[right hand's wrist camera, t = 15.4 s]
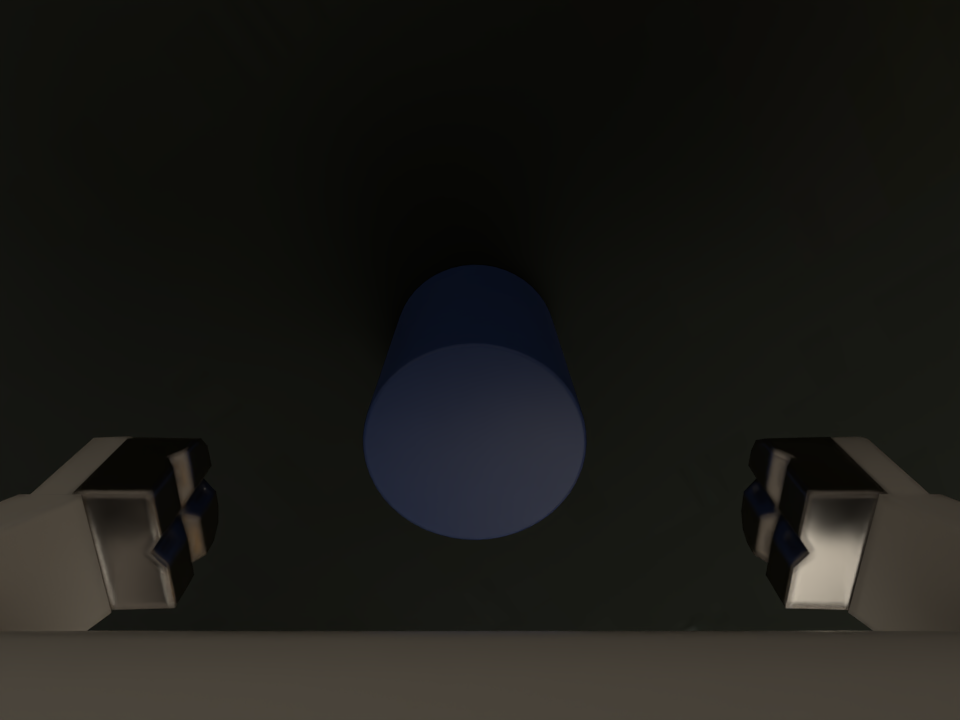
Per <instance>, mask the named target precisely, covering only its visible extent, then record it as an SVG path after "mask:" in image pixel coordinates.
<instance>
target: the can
mask: <svg viewBox="0 0 960 720" xmlns="http://www.w3.org/2000/svg"><path fill="white" fill-rule="evenodd" d="M586 444H587V442H586V428H585V423H584V418H583V415H582V411H581V408H580V405H579V402H578V399H577V396H576V393H575V390H574V386H573V383H572V380H571V377H570V374H569V371H568V368H567V365H566V361H565V358H564V355H563V352H562V349H561V346H560V343H559V340H558V336H557V333H556V330H555V327H554V324H553V321H552V318H551V315H550V312H549V310H548V308H547V306H546V304H545V302H544V301H543V299H542V298H541V297H540V295H539V294H538V293H537V292H536V291H535V290H534V288H533V287H532V286H530V285H529V284H528V283H527V282H526V281H524V280H523V279H521V278H520V277H518V276H516V275H515V274H513V273H510V272H508V271H506V270H503V269H500V268H497V267H492V266H486V265H465V266H459V267H455V268H451V269H448V270H445V271H443V272H440V273H438V274H437V275H435V276H433V277H431V278H430V279H428V280H427V281H425V282H424V283H423V284H422V285H421V286H420V287H419V288H417V289H416V290H415V292H414V293H413V294H412V295H411V297H410V298H409V299H408V301H407V303H406V304H405V306H404V308H403V310H402V313H401V315H400V318H399V321H398V324H397V327H396V330H395V332H394V335H393V338H392V341H391V344H390V347H389V350H388V353H387V356H386V359H385V362H384V365H383V368H382V371H381V374H380V377H379V380H378V383H377V386H376V389H375V392H374V395H373V398H372V401H371V403H370V406H369V409H368V413H367V416H366V420H365V424H364V432H363V451H364V456H365V462H366V465H367V468H368V471H369V474H370V476H371V478H372V480H373V482H374V484H375V486H376V488H377V489H378V491H379V492H380V494H381V495H382V496H383V498H384V499H385V500H386V501H387V502H388V503H389V505H390V506H391V507H392V508H393V509H395V510H396V511H397V512H398V513H399V514H400V515H401V516H403V517H404V518H406V519H407V520H409V521H410V522H412V523H413V524H415V525H417V526H419V527H421V528H423V529H425V530H428V531H430V532H433V533H436V534H439V535H443V536H447V537H451V538H458V539H468V540H482V539H493V538H498V537H503V536H507V535H510V534H514V533H517V532H520V531H522V530H524V529H526V528H529V527H531V526H533V525H534V524H536V523H538V522H539V521H541V520H543V519H544V518H545V517H547V516H548V515H549V514H551V513H552V512H553V511H554V510H555V509H556V508H557V507H558V506H559V505H560V504H561V503H562V502H563V501H564V499H565V498H566V497H567V496H568V494H569V493H570V492H571V490H572V488H573V487H574V485H575V483H576V481H577V479H578V477H579V475H580V472H581V470H582V467H583V463H584V459H585V453H586Z"/></svg>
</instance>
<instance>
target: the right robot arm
mask: <svg viewBox="0 0 960 720" xmlns="http://www.w3.org/2000/svg"><path fill="white" fill-rule="evenodd" d="M211 466H212V465H211V460H210V455H209V451H208V446H207V445H206V443H205V442H204V441H203V440H202V439H201V438H148V437H135V438H133V437H131V436H129V437H101V438H93V439H92V440H91V441H90V442H88V443H87V444H86V445H85V446H84V447H83V448H82V449H81V450H80V451H78V452H77V453H76V454H75V455H74V456H73V457H72V458H71V459H69V460H68V461H67V462H66V463H65V464H64V465H63V466H62V467H60V468H59V469H58V470H57V471H56V472H55V473H54V474H53V475H51V476H50V477H49V478H48V479H47V480H46V481H45V482H44V483H42V484H41V485H40V486H39V487H38V488H37V489H36V490H35V491H33V492H32V493H31V494H19V495H16V496H14V497H11V498H8V499H6V500H3V501H1V502H0V720H960V502H959V501H957V500H954V499H952V498H949V497H946V496H944V495H941V494H929V493H928V492H927V491H925V490H924V489H923V488H922V487H921V486H920V485H919V484H918V483H916V482H915V481H914V480H913V479H912V478H911V477H910V476H909V475H908V474H906V473H905V472H904V471H903V470H902V469H901V468H900V467H899V466H897V465H896V464H895V463H894V462H893V461H892V460H891V459H890V458H889V457H887V456H886V455H885V454H884V453H883V452H882V451H881V450H880V449H878V448H877V447H876V446H875V445H874V444H873V443H872V442H871V441H870V440H868V439H866V438H863V437H859V436H855V437H832V438H831V437H809V438H767V439H759V440H756V441H755V443H754V445H753V448H752V450H751V454H750V460H749V465H748V466H749V467H750V469H751V470H752V472H753V473H754V475H755V477H756V478H757V479H756V480H755V481H754V482H753V483H752V484H751V485H750V486H749V487H748V488H747V489H746V490H745V491H744V495H743V502H742V510H741V513H742V525H743V531H744V534H745V538H746V541H747V543H748V545H749V547H750V549H751V550H752V552H753V554H754V555H756V556H758V557H759V558H761V559H762V560H764V561H766V562H767V563H768V566H767V571H766V576H767V578H768V579H769V581H770V583H771V584H772V586H773V588H774V589H775V591H776V593H777V594H778V596H779V598H780V600H781V601H782V603H783V605H784V606H785V608H803V609H840V610H849V613H850V614H851V615H853V616H854V617H855V618H857V619H858V620H859V621H861V622H862V623H864V624H865V625H866V626H868V627H869V628H870V629H872V630H873V631H87V630H89V629H90V628H91V627H93V626H94V625H95V624H97V623H98V622H99V621H101V620H102V619H103V618H105V617H106V616H108V615H109V614H110V613H111V610H120V609H156V608H175V606H176V605H177V603H178V601H179V600H180V598H181V596H182V595H183V593H184V591H185V590H186V588H187V586H188V584H189V583H190V581H191V579H192V578H193V576H194V571H193V566H192V563H193V562H194V561H196V560H198V559H199V558H201V557H202V556H204V555H206V554H207V552H208V550H209V548H210V547H211V545H212V543H213V541H214V538H215V534H216V529H217V525H218V501H217V494H216V491H215V490H214V489H213V488H212V487H211V486H210V485H209V484H208V483H207V482H206V481H205V480H204V479H203V478H204V477H205V475H206V473H207V472H208V470H209V469H210V467H211Z"/></svg>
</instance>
